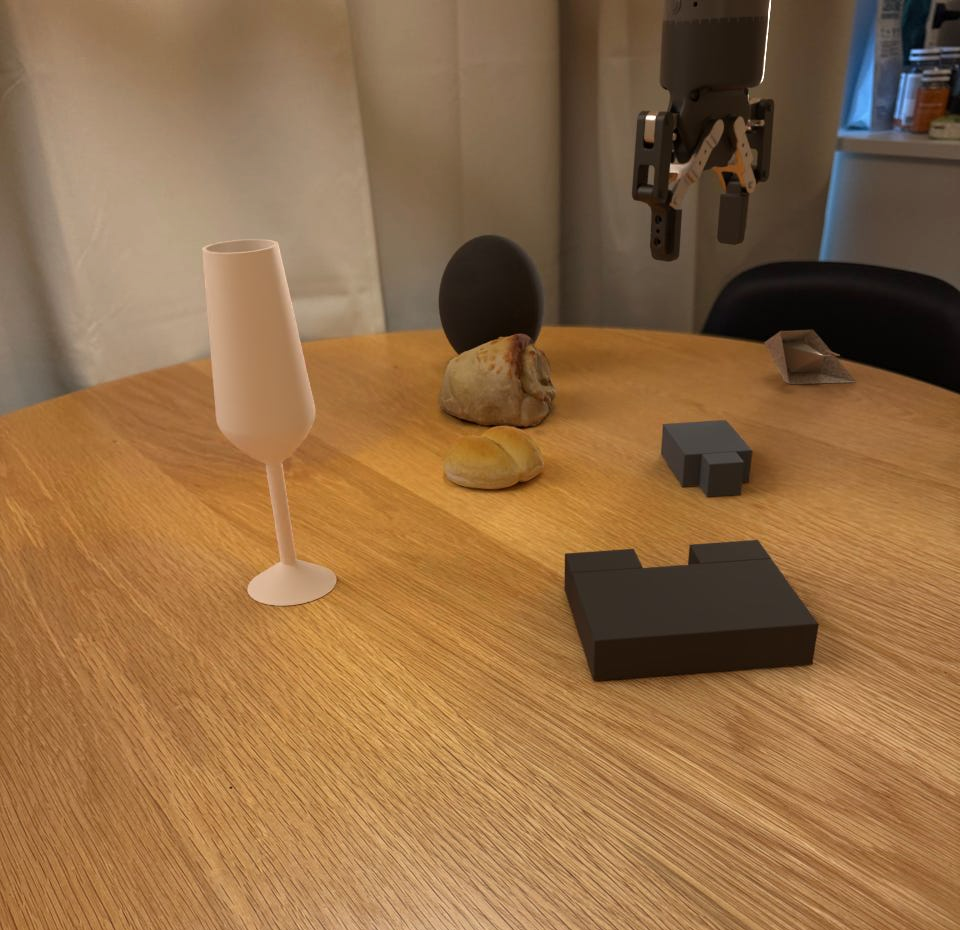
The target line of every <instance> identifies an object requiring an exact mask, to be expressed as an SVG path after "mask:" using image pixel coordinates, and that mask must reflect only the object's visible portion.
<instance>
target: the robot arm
mask: <svg viewBox="0 0 960 930" xmlns="http://www.w3.org/2000/svg"><path fill="white" fill-rule="evenodd" d="M771 2H772V0H662V18H661V19H662V21H661V41H660V42H661V43H660V60H659V61H660V63H659V79H658V80H659V81H658V82H659V85H660V87H661V88H662V89H663V90H665V91H668V92H669V101H668V106H667V110H666V111H664V110H663V111H661V110H660V111H657V110H641V111H640V112H639V113H638V115H637V119H636V132H635V142H634V143H635V144H634V145H635V146H634V158H633V171H632V172H633V173H632V186H631V198H632V199H633V200H634V201H636V202H642V203H644V204H646V205H648V207H650V211H651V212H650V213H651V214H650V215H651V216H650V235H649V237H650V239H649V249H650V255H651V257H652V259H654V260H655V261H661V262H668V263H670V262H674V261H677V260H678V259H679V257H680V250H681V235H682V220H683V219H682V218H683V217H682V216H683V209H681V206H682V204H683V202H684V199H685V198H686V196H687V193H688V191H689V190H690V187H691V185H693V184H695V183H696V182H698V181H699V179H700V177H701V175H702V173H703V172H704V171H709V170H711V171H714V172H715V174H716V175H717V178H718V181H719V183H720V186H721V190H723V191H724V193H720V196H719V207H718V220H717V233H716V239H717V241H718V243H720V244H724V245H732V246H736V245H740V244H742V243H743V242H744V241H745V236H746V230H747V224H748V223H747V220H748V211H749V201H750V194H753V192H754V191H755V189H756V186H757V184H759V183H766V182H767V181H768V179H769V178H770V172H771V160H772V146H773V145H772V144H773V133H774V131H773V130H774V117H775V101H774V99H773V98H763V97H752V98H749V97H750V96H749V89H752V88H756V87H758V86H760V85H761V84H762V82H763V81H764V77H765V76H764V75H765V67H766V55H767V54H766V53H767V44H768V36H769V35H768V33H769V25H770V24H769V22H770V13H771ZM752 150H755V151H756V152H757V156H756V165H755V164H752V162H754V155H753V152H752ZM675 161H677V163H675ZM651 166H652V168H653V169H654V171H653V173H654V174H653V182H652V184H651V183H649V172H650V167H651ZM672 182H674V184H673V186H672V188H671V189H669V185H670V183H672Z"/></svg>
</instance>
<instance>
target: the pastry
mask: <svg viewBox="0 0 960 930" xmlns="http://www.w3.org/2000/svg"><path fill="white" fill-rule="evenodd" d="M551 375H552V370H551V366H550V362H549V359H548V356H547V355H546V353H545V351H544V350H542V349H540V348H539V347H538V346H537V345H535V344H534V343H533V341H532V339H531V338H530V337H528V336H527V335H525V334H515V335H512V336H509V337H499V338H498V339H497V340H493V341H490V342H488V343H485V344H482V345H480V346H478V347H476V348H474V349H471V350H469V351H465V352H464V353H462V354H460V355H458V356H454V357H453V358H451V359H450V360H449V363H448V364H447V365H446V369H445V372H444V374H443V378H442V384H441V387H440V390H439V393H438V404H439V409H440V410H441V411H444V412H446V414H447V415H450V416H454V417H457V419H459V420H461V419H462V420H464V421H468V422H471V423H475V424H476V425H477V426H478V425H479V426H483V427H485V426H510V427H515V428H517V427H529V426H531V427H534V426H537V425H539V424H540V423H541V422H543V420H546V419H547V417H548V416H549V410H550V409H551V408H552V402H553V401H554V400H555V399H556V396H557V393H558V392H557V388H556V386H555V383H554V382H553V380H552V379H551Z"/></svg>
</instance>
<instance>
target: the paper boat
mask: <svg viewBox="0 0 960 930" xmlns="http://www.w3.org/2000/svg"><path fill="white" fill-rule="evenodd" d="M763 344H764V345H765V348H766V349H767V351H768V353H769V355H770V357H771V359H772V361H773V363H774V365H775V367H776V369H777V370H778V372H779V374H780V376H781V378H782V380H783V382H785V383H786V384H788V385H811V384H843V383H857V380H856V379H855V378H854V377H853V376H852V374H851V373H850V372H849V371H848V369H847V368H846V367H845V366H844V365H843V364H842V363H841V361H840V360H839V358H837V357H841V354H839V353H836V352H833V351H832V350H831V349H830V348H829V347H828V346H827V344H826V343H825V342H824V341H823V339H822V338H821V337H820V336H819V334H817V332H816V331H815V330H814V329H796V330H780V331H778V332H776V333H775V334H774V335H773V336H771V337H770V338H768V339H767V340H766V341H764V342H763Z"/></svg>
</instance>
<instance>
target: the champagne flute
mask: <svg viewBox="0 0 960 930" xmlns="http://www.w3.org/2000/svg"><path fill="white" fill-rule="evenodd" d="M201 254H202V255H201V256H202V265H203V277H204V279H203V280H204V290H205V291H204V292H205V303H206V313H207V315H206V316H207V324H208V326H207V327H208V337H209V338H208V339H209V351H210V364H211V373H212V374H211V375H212V384H213V385H212V386H213V397H214V399H213V400H214V409H215V421H216V424H217V427H218V429H219V430H220V431H221V433H222V434H223V436H224V437H225V438H226V439H227V440H228V441H229V442H230V444H232V445H233V446H234V447H235V448H237V449H238V450H240V451H241V452H243V453H244V454H246V455H247V456H248V457H250V458H252V459H253V460H255V461H257V462H259V463H262V464H265V471H266V477H267V478H266V479H267V484H268V489H269V490H268V491H269V498H270V503H271V509H272V515H273V522H274V527H275V534H276V541H277V547H278V554H279V560H280V561H278V562H276V563H275V564H273V565H272V566H270V567H269V568H266V569H265V570H263V571H262V572H260V573H259V574H257V575H256V576H254V578H252V579H251V580H250V581H249V583H248V585H247V588H246V590H247V594H248V595H249V597H250V598H251V599H252V600H254V601H256V602H258V603H260V604H265V605H268V606H276V607H277V606H278V607H280V606H281V607H284V606H285V607H286V606H296V605H301V604H305V603H311V602H312V601H316V600H318V599H320V598H322V597H324V596H326V595H327V594H328V593H330V592H331V591H332V590H334V588H335V586H336V584H337V582H338V581H337V580H338V579H337V575H336V573H335V572H334V571H332V570H331V569H329V568H328V567H326V566H322V565H319V564H316V563H312V562H309V561H305V560H303V559H298V558H297V553H296V546H295V540H294V533H293V527H292V519H291V513H290V507H289V500H288V493H287V487H286V479H285V473H284V466H283V462H284V461H285V460H287V459H288V458H290V457H291V456H292V455H293V454H294V453H295V451H296V450H297V449H298V448H299V447H300V445H301V444H302V443H303V442H304V441H305V439H306V438H307V437H308V435H309V433H310V431H311V430H312V427H313V425H314V422H315V420H316V414H317V412H316V411H317V410H316V405H315V401H314V396H313V392H312V388H311V383H310V378H309V374H308V370H307V365H306V360H305V356H304V352H303V347H302V343H301V338H300V334H299V329H298V325H297V319H296V316H295V311H294V308H293V302H292V297H291V293H290V289H289V288H290V287H289V285H288V280H287V275H286V271H285V266H284V262H283V258H282V252H281V249H280V244H279V242H278V241H276V240H272V239H264V238H263V239H261V238H254V239H253V238H250V239H249V238H248V239H234V240H233V239H232V240H225V241H219V242H214V243H211V244H208V245H205V246H203V247H202V248H201Z"/></svg>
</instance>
